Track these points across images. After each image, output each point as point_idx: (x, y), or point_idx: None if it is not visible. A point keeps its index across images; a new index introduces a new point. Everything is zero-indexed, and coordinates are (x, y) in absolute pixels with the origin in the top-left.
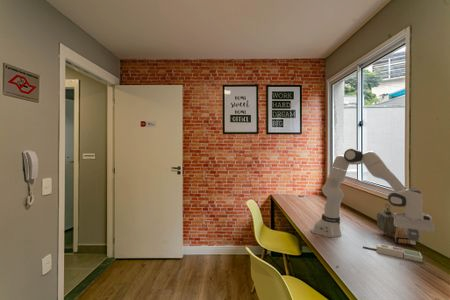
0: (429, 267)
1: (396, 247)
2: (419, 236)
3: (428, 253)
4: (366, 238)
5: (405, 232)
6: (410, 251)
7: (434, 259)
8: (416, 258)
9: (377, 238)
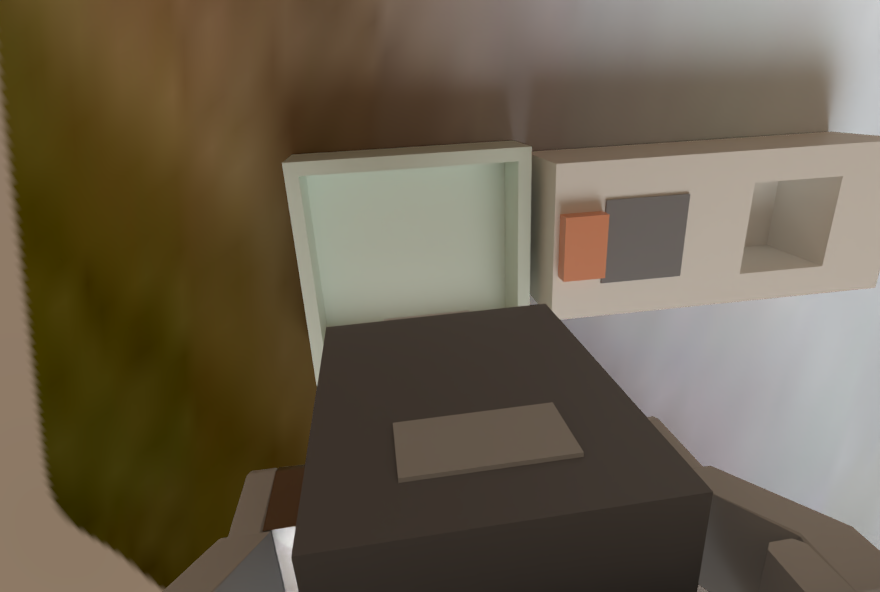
0: (202, 7)
1: (626, 290)
2: (289, 473)
3: (228, 504)
4: (834, 505)
5: None
6: None
7: (157, 363)
8: (365, 152)
9: None
